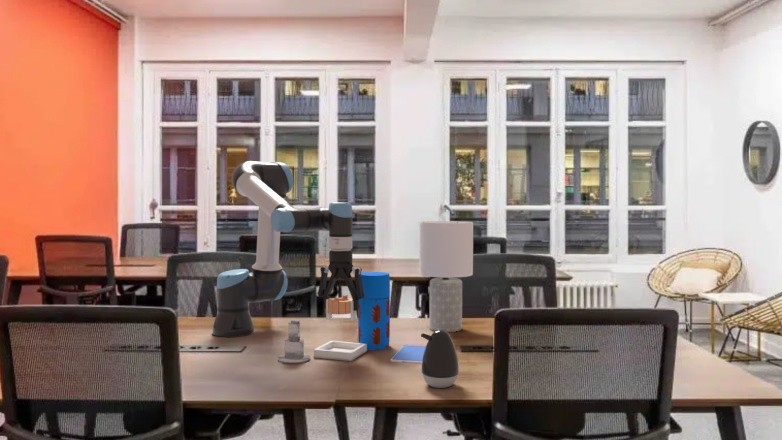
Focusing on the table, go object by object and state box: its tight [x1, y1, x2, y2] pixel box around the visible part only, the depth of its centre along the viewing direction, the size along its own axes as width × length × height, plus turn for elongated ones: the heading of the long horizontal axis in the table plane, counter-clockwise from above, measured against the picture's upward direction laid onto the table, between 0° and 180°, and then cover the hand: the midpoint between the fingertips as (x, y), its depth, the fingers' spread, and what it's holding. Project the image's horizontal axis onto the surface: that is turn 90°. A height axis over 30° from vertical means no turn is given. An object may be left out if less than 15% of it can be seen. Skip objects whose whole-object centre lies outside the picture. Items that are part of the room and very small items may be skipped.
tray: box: [313, 340, 368, 362], centre depth 198 cm, size 13×13×2 cm
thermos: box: [357, 271, 391, 351], centre depth 209 cm, size 11×11×25 cm
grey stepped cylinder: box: [277, 319, 311, 365], centre depth 192 cm, size 10×10×12 cm
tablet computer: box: [389, 344, 426, 365], centre depth 198 cm, size 19×13×1 cm, turn 166°
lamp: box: [418, 220, 474, 333], centre depth 236 cm, size 21×21×42 cm
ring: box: [328, 294, 353, 315], centre depth 198 cm, size 8×8×5 cm
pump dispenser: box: [420, 330, 460, 389], centre depth 166 cm, size 10×10×15 cm
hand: (341, 319), depth 198 cm, fingers closed on ring, 8 cm apart
